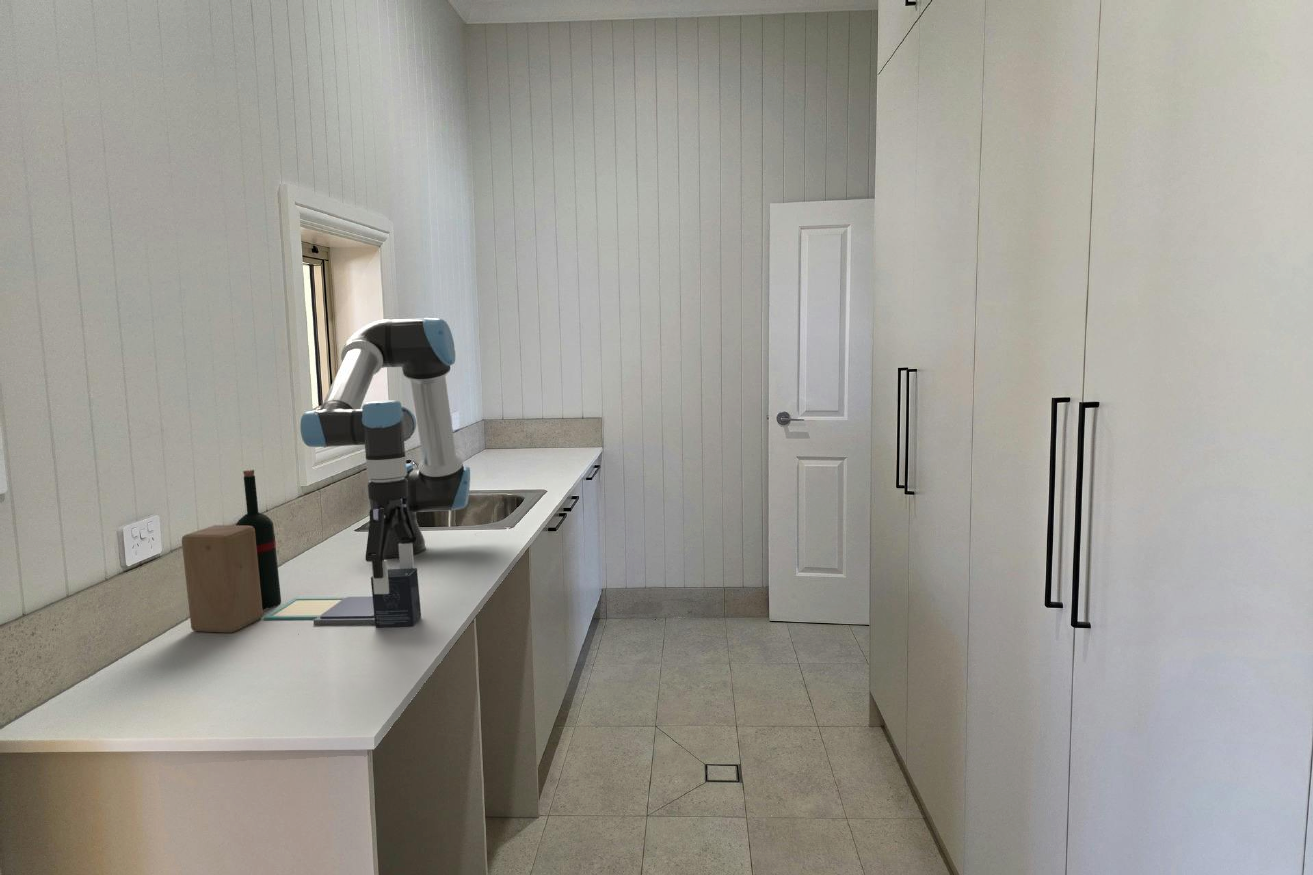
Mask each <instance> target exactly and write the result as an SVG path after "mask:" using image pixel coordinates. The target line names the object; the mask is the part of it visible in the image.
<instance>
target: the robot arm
mask: <svg viewBox="0 0 1313 875" xmlns="http://www.w3.org/2000/svg"><path fill="white" fill-rule="evenodd" d="M340 359H341V364H340V365H339V367H338V370H337V372H336V374H335V376H334V379H333V381H332V383H331V385H330V387H329V389H328V391H327V393H326V396H325V398H324V401H323V403H322V405H321V407H320V409H319V410H317V409H314V410H311V411H309V410H308V411H306V412H304V413H303V414H302V416H301V418H300V423H299V424H300V427H299V428H300V435H301V439H302V441H303V443H304V445H306V446H308V447H310V448H311V447H312V448H324V449H325V448H330V447H347V446H349V447H350V446H364V450H365V451H364V452H365V463H364V467H365V468H366V476H367V479H368V482H367V491H368V492H367V496H368V499H369V507H370V508H369V525H368V532H367V543H366V551H365V561H366V562H367V563H369V562H371V569H372V571H371V572H372V576H373V586H374V594H388V593H389V582H388V560H387V559H389V558H390V559H391V558H399V569H408V568H415V562H414V555H415V554H418V553H420V552H423V551H424V550H426V542H425V538H424V535H423V533H422V530H421V528H420V526H419V524H418V521H417V513H422V512H423V513H424V512H438V511H439V512H441V511H444V512H445V511H450V512H452V511H454V510H455V511H457V510H462V509H465V508H466V507H467V506H468V503H469V497H470V487H471V486H470V485H471V468H470V467H469V466H467V465H464V464H463V462H464V461H463V459H462V458H461V457H460V456H459V455H456V448H455V446H456V445H455V438H454V431H453V424H452V418H451V410H450V401H449V395H448V388H447V380H446V376H447V374H448V373H450V371H451V366H453V365H454V364H455V363H456V350H455V341H454V338H453V334H452V330H451V328H450V326H449V324H448V323H447V322H446V320H444V319H442V318H433V317H431V318H429V317H424V318H403V319H400V318H399V319H381V320H377V321H374V322H372V323H371V322H370V323H369V324H367V325H365V326H363V327H361V329H359V330H358V331H356V332H355V333H354V334H353V335H351V337H349V339H348V340H347V341H346V342H345V344H344V346H343V349H342V351H341V353H340ZM383 368H402V375H403V376H404V377H405V379H406V378H407V380H409V381H410V385H411V392H412V398H413V404H414V405H413V406H414V411H415V414H414V413H413V412H412V411H411V410H410V409H409V408H407V407H404V406H402V403H401V402H400V401H399V400H393V399H391V400H390V399H389V400H387V399H386V400H385V399H384V400H373V401H367V402H365V403H364V400H365V398H366V395H367V393H368V390H369V388H370V385H371V384H372V381H373V378H374V375H376V374H377V373H379V372H380V371H381V369H383ZM416 427H417V428H416ZM416 429H417V430H418V436H419V438H418V439H419V442H420V444H419V445H420V448H421V449H420V450H421V457H422V460H421V461H420V462H419V464H418V467H417V468H414V466H413V464H412V463H407V459H406V458H407V456H406V450H405V447H406V446H405V444H406V443H405V442H407V441H408V440H410V439H411V437H412V436H413V434H414V433H415V432H416Z"/></svg>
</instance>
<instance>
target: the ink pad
mask: <svg viewBox="0 0 1313 875" xmlns="http://www.w3.org/2000/svg"><path fill="white" fill-rule="evenodd" d="M324 625H325V626H327V625H328V626H335V625H336V626H337V625H340V626H342V625H345V626H346V625H375V619H374V608H373V597H372V596H370V595H369V596H346V597H345V598H344V599H343V600H341V601H340V602H338V603H337V604H336V605H334V606H333V607H331V608H330V609H328V610H327V611H326V612H324V613H323V614H321V615H320V616H319V617H317V618H316V619H313V626H324Z"/></svg>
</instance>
